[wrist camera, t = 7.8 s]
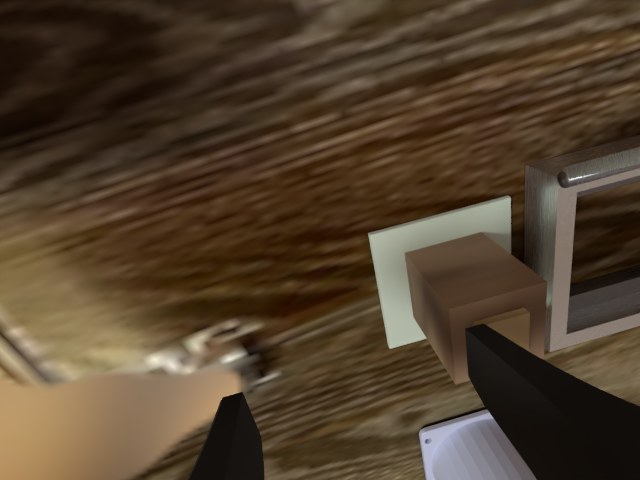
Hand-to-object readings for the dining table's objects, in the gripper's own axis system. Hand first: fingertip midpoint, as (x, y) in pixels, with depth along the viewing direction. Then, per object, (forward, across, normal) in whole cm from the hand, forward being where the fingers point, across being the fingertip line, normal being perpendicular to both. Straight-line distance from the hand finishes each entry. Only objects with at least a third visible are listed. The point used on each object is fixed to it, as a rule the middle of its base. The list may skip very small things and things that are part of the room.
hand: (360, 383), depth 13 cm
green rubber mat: (+10, -7, +4) cm, 13 cm away
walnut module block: (+10, -7, +4) cm, 13 cm away
